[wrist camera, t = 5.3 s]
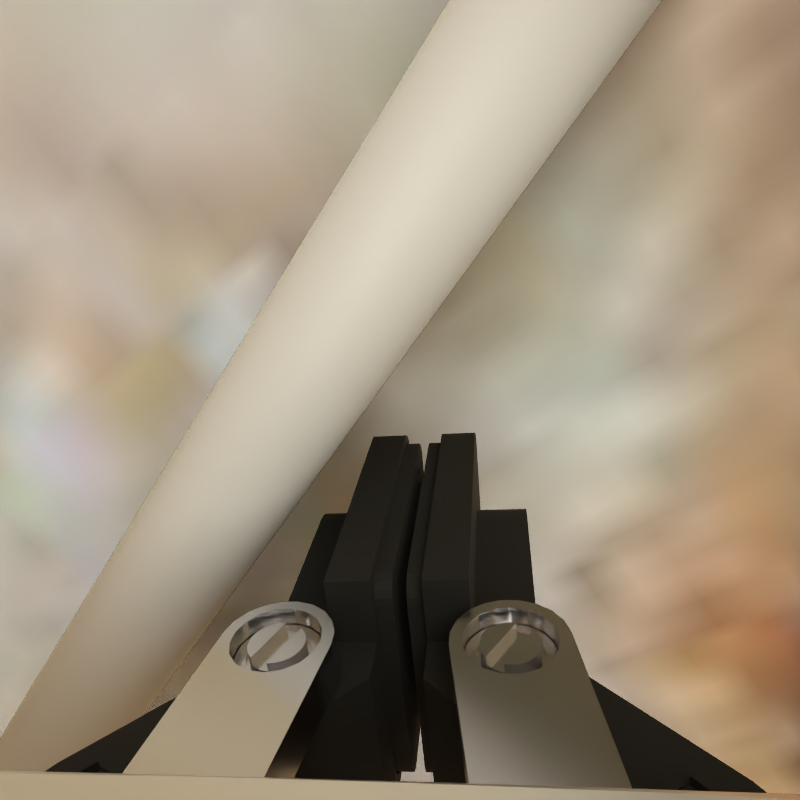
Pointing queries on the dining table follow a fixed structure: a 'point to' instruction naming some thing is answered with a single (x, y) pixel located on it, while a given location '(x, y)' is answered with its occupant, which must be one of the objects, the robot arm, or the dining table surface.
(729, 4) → the dining table surface
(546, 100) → the grey rectangular bar
